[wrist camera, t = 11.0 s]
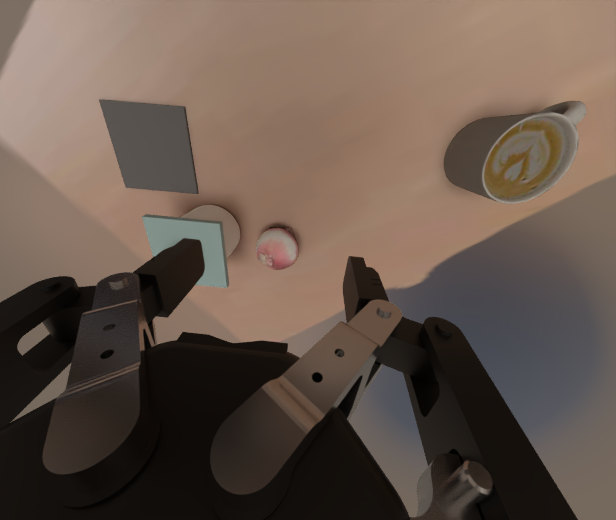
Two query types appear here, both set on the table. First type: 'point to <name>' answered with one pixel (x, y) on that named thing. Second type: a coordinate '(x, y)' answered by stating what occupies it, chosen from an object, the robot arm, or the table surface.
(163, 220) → the lid
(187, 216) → the cup
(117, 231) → the table surface
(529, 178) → the coffee mug
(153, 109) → the mat
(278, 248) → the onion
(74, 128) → the table surface
